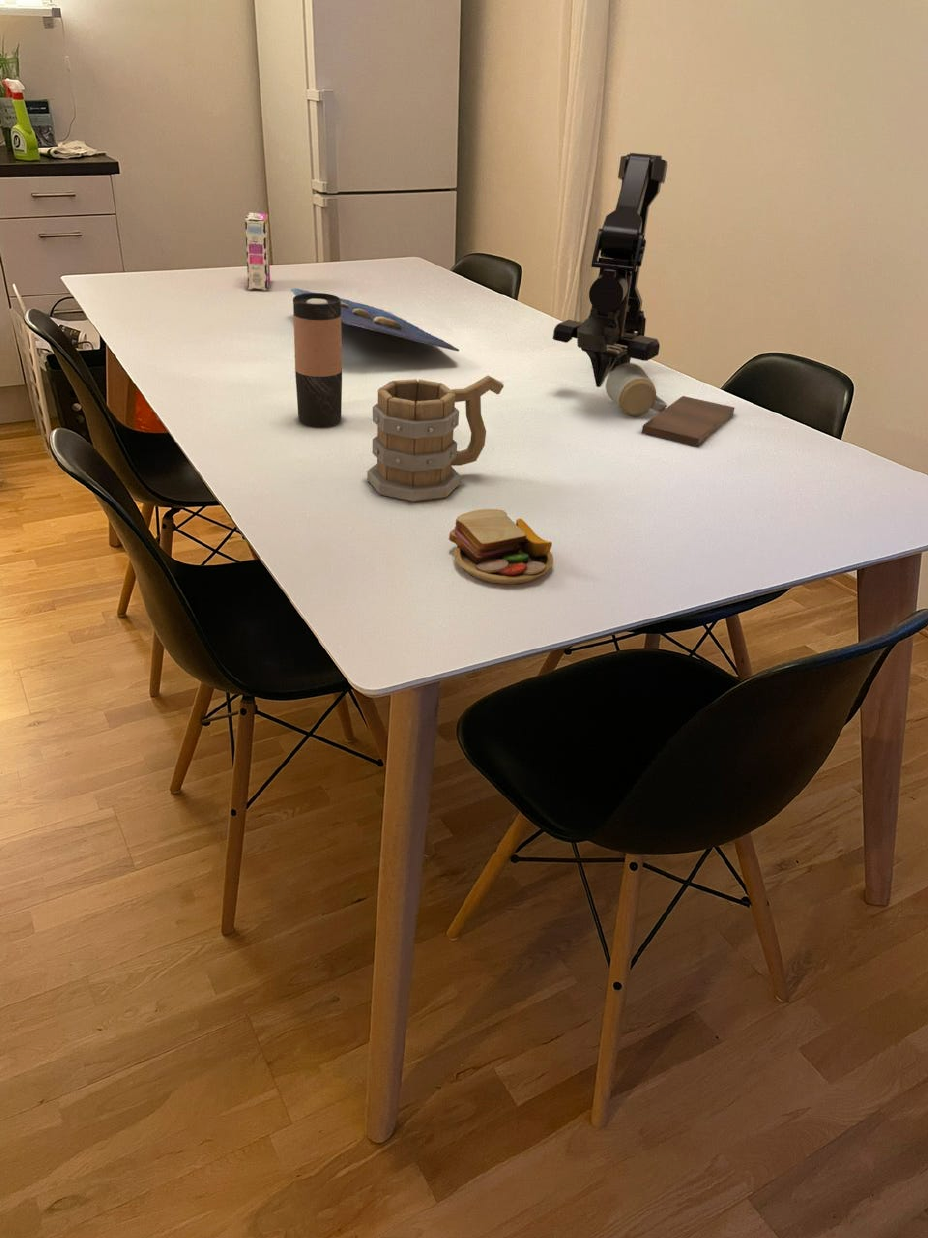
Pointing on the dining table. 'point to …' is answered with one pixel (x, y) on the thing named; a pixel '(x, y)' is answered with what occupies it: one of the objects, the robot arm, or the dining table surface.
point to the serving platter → (383, 322)
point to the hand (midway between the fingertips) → (598, 386)
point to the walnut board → (688, 421)
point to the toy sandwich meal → (499, 548)
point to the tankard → (424, 437)
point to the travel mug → (318, 358)
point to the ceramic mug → (633, 390)
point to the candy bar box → (257, 251)
